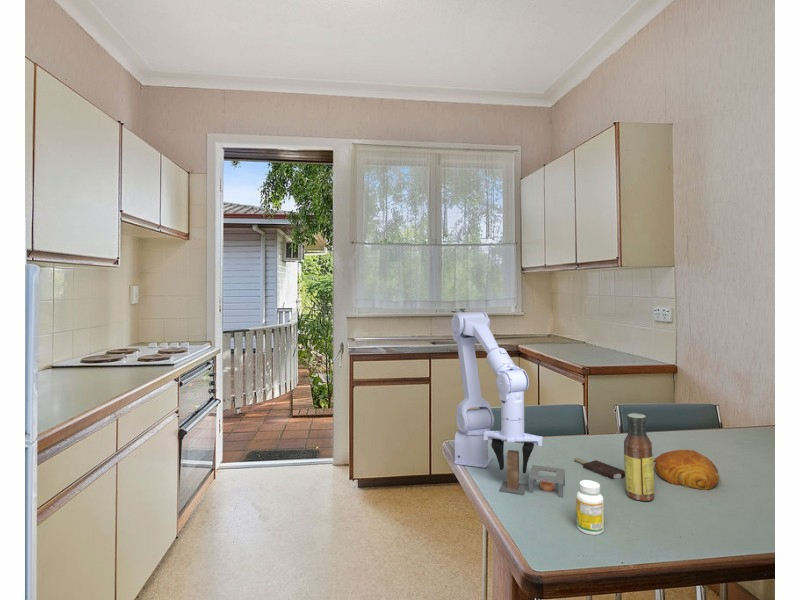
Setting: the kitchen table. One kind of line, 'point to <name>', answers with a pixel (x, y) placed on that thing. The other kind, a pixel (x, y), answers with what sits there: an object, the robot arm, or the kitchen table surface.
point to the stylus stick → (513, 469)
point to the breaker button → (547, 485)
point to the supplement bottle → (590, 508)
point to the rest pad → (520, 490)
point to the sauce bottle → (638, 460)
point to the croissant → (687, 469)
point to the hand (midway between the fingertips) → (513, 470)
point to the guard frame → (559, 477)
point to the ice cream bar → (602, 469)
